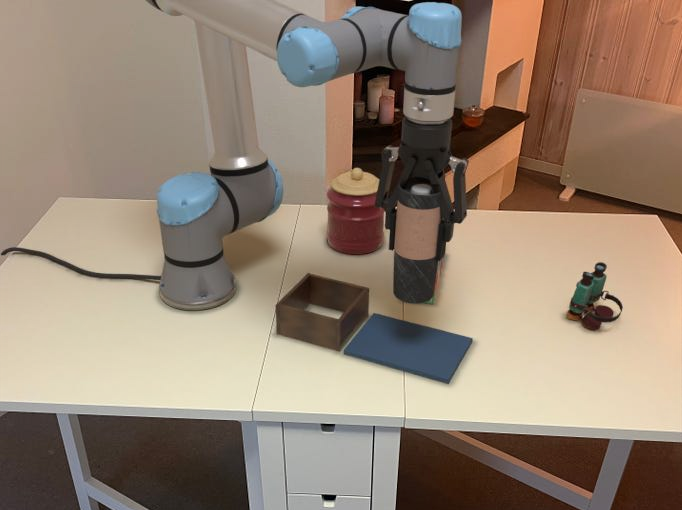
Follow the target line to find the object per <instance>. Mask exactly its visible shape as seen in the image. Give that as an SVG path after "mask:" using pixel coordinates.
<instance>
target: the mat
mask: <svg viewBox="0 0 682 510" xmlns="http://www.w3.org/2000/svg"><path fill="white" fill-rule="evenodd" d="M473 340H474V338H473V337H470V336H466V335H461V334H458V333H455V332H450V331H447V330H443V329H439V328H434V327H432V326H427V325H424V324H419V323H416V322H411V321H408V320H403V319H400V318H397V317H392V316H389V315H384V314H380V313H377V312H373V313H372V314H371V315H370V317H368V318H367V319H366V321H365V322H364V323H363V324H362V326H361V327H360V328H359V329H358V331H357V332H356V333H355V334H354V336H353V337H352V338H351V339H350V341H349V342H348V343H347V344H346V347H344V348H343V355H345V356H348V357H352V358H356V359H359V360H363V361H366V362H369V363H373V364H376V365H380V366H384V367H388V368H391V369H394V370H397V371H400V372H401V371H402V372H404V373H408V374H413V375H416V376H420V377H422V378H426V379H430V380H434V381H437V382H441V383H444V384H447V385H448V384H450V382H451V381H452V379H453V377H454V375H455V373H456V371H458V369H459V367H460V364H461V363H462V361H463V359H464V358H465V356H466V354H467V352H468V351H469V349H470V348H471V345H472V344H473Z"/></svg>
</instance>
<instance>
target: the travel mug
mask: <svg viewBox="0 0 682 510" xmlns="http://www.w3.org/2000/svg"><path fill="white" fill-rule="evenodd" d="M440 196H441V193H440V192H439V193H436V194H435V191H434V188H433V186H432V185H431V182H430V179H425V178H423V177H414V176H412V177H411V179H410V181H409V183H408V185H407V186H406V187H405V188H404V189H402V188H401V187H400V184H399V189H398V203H397V206H396V208H397V216H396V230H395V244H394V250H393V279H392V280H393V281H392V292H393V296H394V297H395V298H396V299H397V300H398V301H400V302H402V303H405V304H410V305H411V304H412V305H419V304H420V305H421V304H426V303H425V302H427V301H429V300H431V299H432V298H433V295H434V290H435V283H436V275H437V268H438V261H436V251H437V240H438V230H439V224H440V223H441V221H442V220H443V217H442V214H441V211H440V207H439V206H440Z"/></svg>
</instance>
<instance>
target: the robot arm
mask: <svg viewBox="0 0 682 510" xmlns="http://www.w3.org/2000/svg"><path fill="white" fill-rule="evenodd" d="M145 1H146V3H148V4H149V5H150V6H152V7H154V8H155V9H156V10H158V11H161V12H163V13H164V14H167V15H169V16H171V17H181V16H185V17H187V18H189V19H191V20H193V22H194V29H195V35H196V40H197V46H198V53H199V58H200V59H199V60H200V66H201V71H202V72H201V73H202V78H203V82H204V83H203V85H204V91H205V96H206V97H205V98H206V104H207V110H208V111H207V112H208V116H209V122H210V123H209V124H210V129H211V135H212V140H213V148H214V154H213V155H212V156H211V158H210V159H209V160H208V167H209V172H210V174H209V173H207V172H201V171H193V172H191V173H187V172H184V173H181V174H178V175H175V176H173V177H170V178H168V179H167V180H166V181H164V183H162V185H161V186H159V188H158V190H157V193H156V216H157V218H158V223H159V229H160V236H161V243H162V244H161V245H162V251H163V256H164V261H163V267H162V270H161V271H162V272H161V275H154V274H153V275H151V274H137V273H135V274H133V273H107V272H106V273H105V272H95V271H90V270H87V269H84V268H81V267H79V266H76V265H75V264H73V263H70V262H68V261H66V260H63V259H60V258H58V257H56V256H54V255H52V254H50V253H47V252H45V251H41V250H35V249H31V248H30V249H29V248H25V247H18V246H16V247H15V246H13V247H8V248H6V249H3V251H2V252H1V253H0V256H6V255H7V254H8V253H11V252H20V253H25V254H31V255H36V256H42V257H44V258H47V259H49V260H50V261H53V262H55V263H57V264H60V265H62V266H65V267H67V268H69V269H71V270H73V271H75V272H77V273H80V274H82V275H85V276H91V277H96V278H104V279H134V280H135V279H136V280H150V281H151V280H153V281H159V286H158V288H159V289H158V290H159V295H160V298H161V300H162V302H164V303H165V304H167V306H169V307H172V308H175V309H179V310H183V311H204V310H209V309H214V308H216V307H219V306H222V305H224V304H225V303H227V302H228V301H230V300H231V299H232V298H233V297H234V295H235V294H236V290H237V289H236V288H237V286H236V285H237V284H236V279H237V278H236V274H233V272H232V271H231V268H230V266H229V264H228V263H229V262H228V261H227V259H226V257H225V252H224V243H223V241H224V240H223V238H224V237H227V236H229V235H231V234H233V233H235V232H238V231H240V230H243V229H245V228H247V227H249V226H252V225H254V224H256V223H257V224H258V223H260V222H263V221H265V220H266V219H267V218H269V217H271V216H272V215H274V214H275V213H276V212H277V211H278V210H279V208H280V206H281V204H282V203H283V198H284V183H283V179H282V175H281V174H280V173H279V172H278V167H277V166H276V165H275V164H274V163H273V162H272V161H270V160H269V157H268V154H267V153H266V152H265V151H263V150H262V149H261V148H260V147H259V140H258V132H257V123H256V117H255V108H254V100H253V93H252V84H251V78H250V70H249V69H250V68H249V62H248V53H247V48H249V49H251V50H253V51H255V52H257V53H259V54H261V55H263V56H265V57H267V58H269V59H271V60H273V61H275V62H277V66H278V69H279V71H280V73H281V75H283V76H284V77H285V78H286V81H287V82H288V84H291V85H292V86H294V87H297V88H306V87H317V86H321V85H324V84H326V83H328V82H331V81H334V80H336V79H339V78H343V77H345V76H348V75H352V74H356V73H359V72H362V71H366V70H368V69H371V68H375V67H385V68H388V69H392V70H396V71H402V72H405V73H404V92H403V109H402V113H403V115H404V117H403V118H402V122H401V123H402V124H401V139H400V141H401V142H400V145H399V146H396V147H395V146H393V145H391V144H390V145H387V146H386V147H385V148H383V149H382V151H381V153H380V155H381V156H380V157H381V162H382V165H381V170H380V175H379V179H380V180H379V185H378V190H377V195H376V199H375V206H376V207H381V208H383V209H384V210H385V212H384V228H385V230H388V231H389V235H388V237H389V238H388V250H389V251H391V252H394V244H395V230H396V216H397V203H398V189H399V184H400V187H401V188H402V189H404V188H405V187H406V186H407V185H408V183H409V181H410V179H411V177H423V178H425V179H430V182H431V185H432V186H433V188H434V191H435V194H436V193H439V192H440V193H441V196H440V206H439V207H440V211H441V214H442V217H443V220H442V221H441V223H440V224H439V230H438V240H437V251H436V261H440V260H441V259H442V258H443V256H444V257H445V255H446V249H447V243H450V241H451V240H452V239H453V237H454V230H455V229H454V228H455V224H459V225H460V224H462V223H463V222H464V220H465V219H466V218H467V216H468V205H467V203H468V202H467V183H466V181H467V180H466V172H467V169H468V166H469V163H470V162H469V159H468V158H466V157H464V158H462V159H461V158H458V157H455V156H453V154H452V152H451V139H452V131H453V120H452V119H451V118H452V117H453V116H454V112H455V111H454V110H455V99H456V88H457V87H456V86H457V74H458V67H459V58H460V51H461V45H462V41H463V39H462V23H463V22H462V21H463V16H462V12H461V9H460V8H458V7H457V6H456V5H454V4H451V3H446V2H435V1H426V2H420V3H415V4H413V5H412V6H411V7H410V9H409V10H408V11H409V12H408V14H403V13H397V12H394V11H389V10H383V9H380V8H376V7H374V6H367V7H365V6H354V7H353V6H352V7H351V8H349V9H348V10H347V12H346V13H345V14H343V15H342V17H341V18H338V19H334V20H329V21H321V20H319V19H316V18H314V17H312V16H310V15H307V14H305V13H303V12H301V11H299V10H297V9H295V8H292V7H290V6H288V5H286V4H284V3H282V2H279V1H277V0H145ZM398 158H399V159H400V160H401V162H402V164H403V166H404V169H403V170H402V172H401V174H400V176H399V177H400V178H399V179H398V182H396V186H395V187H394V189H393V191H392V193H391V195H390V197H389V198H388V196H389V193H390V188H391V182H392V178H393V174H394V170H395V169H394V168H395V165H396V164H395V162H396V161H397V159H398ZM448 165H449V166H450V169H451V173H452V174H453V177H452V185H453V187H452V188H453V202H452V198H451V195H450V194H451V193H450V190H449V188H448V185H447V181H446V173H445V168H446V167H447V166H448ZM453 204H454V205H453Z"/></svg>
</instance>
